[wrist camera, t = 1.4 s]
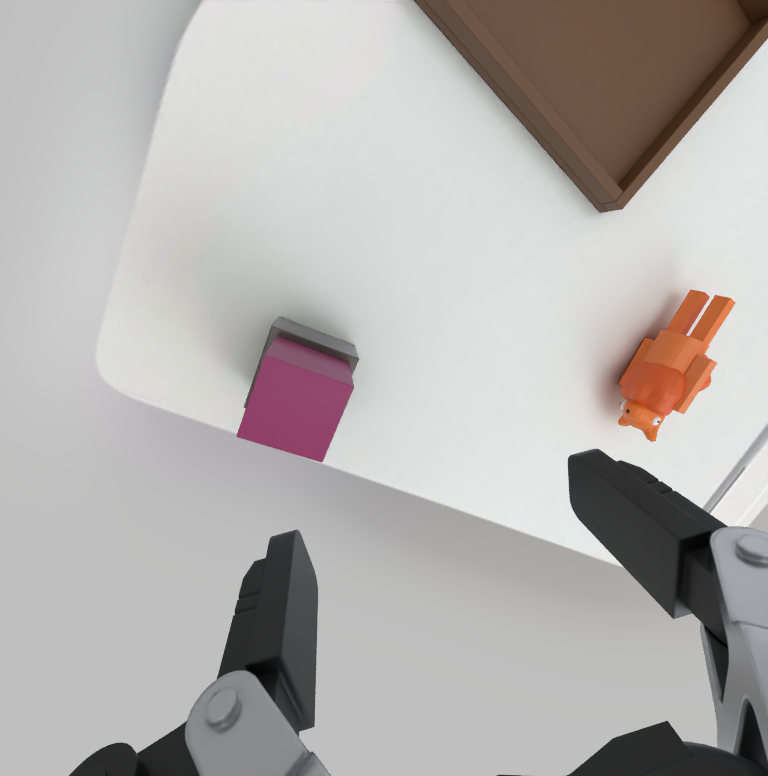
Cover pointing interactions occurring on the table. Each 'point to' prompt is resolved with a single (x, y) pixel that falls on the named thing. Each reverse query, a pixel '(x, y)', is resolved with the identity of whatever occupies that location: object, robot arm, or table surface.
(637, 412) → the orange toy animal
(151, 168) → the table surface
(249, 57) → the table surface
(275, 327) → the dark brown block
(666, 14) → the tray
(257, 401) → the mulberry block
